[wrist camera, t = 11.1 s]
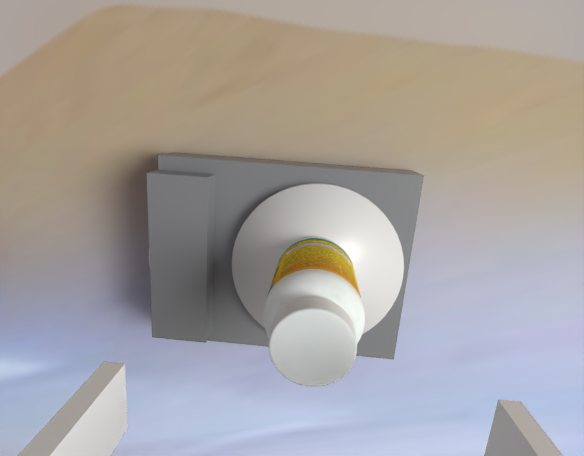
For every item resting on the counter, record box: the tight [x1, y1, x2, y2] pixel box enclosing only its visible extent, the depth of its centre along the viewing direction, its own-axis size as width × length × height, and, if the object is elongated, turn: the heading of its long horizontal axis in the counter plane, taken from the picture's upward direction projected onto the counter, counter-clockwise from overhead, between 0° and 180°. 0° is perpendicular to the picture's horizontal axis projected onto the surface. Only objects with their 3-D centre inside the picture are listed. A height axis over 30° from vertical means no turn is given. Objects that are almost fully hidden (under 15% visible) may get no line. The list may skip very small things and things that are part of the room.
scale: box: [146, 153, 424, 359], centre depth 27 cm, size 18×14×5 cm
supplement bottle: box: [263, 237, 365, 386], centre depth 21 cm, size 5×5×10 cm
